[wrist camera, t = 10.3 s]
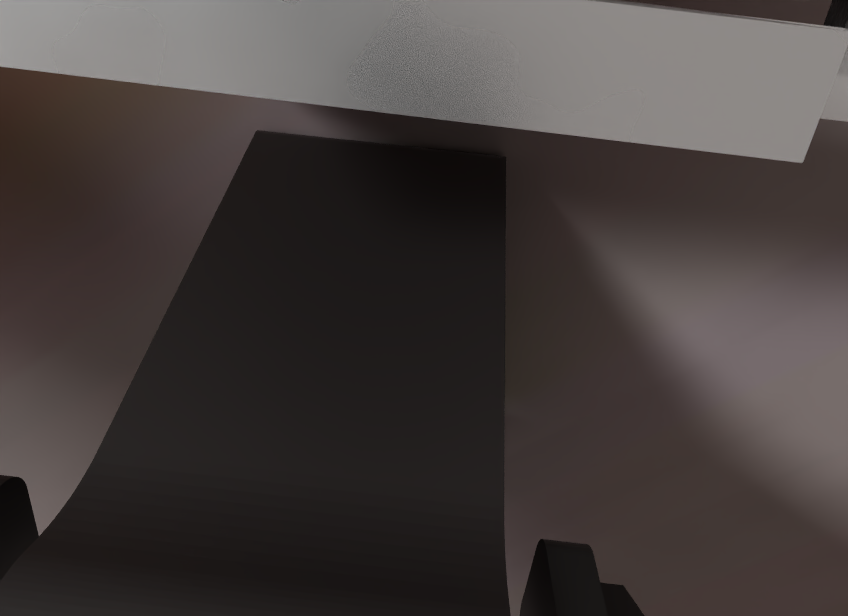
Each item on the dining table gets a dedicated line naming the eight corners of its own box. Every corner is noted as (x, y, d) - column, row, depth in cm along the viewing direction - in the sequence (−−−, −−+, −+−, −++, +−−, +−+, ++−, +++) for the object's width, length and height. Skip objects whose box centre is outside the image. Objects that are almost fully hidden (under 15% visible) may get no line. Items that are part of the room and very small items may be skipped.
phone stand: (261, 125, 16) (-193, 445, 5) (507, 153, 15) (591, 540, 5) (267, 422, 20) (28, 946, 9) (461, 445, 20) (451, 1000, 9)
